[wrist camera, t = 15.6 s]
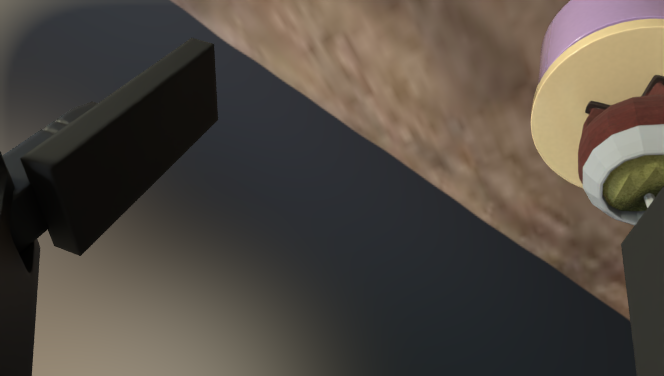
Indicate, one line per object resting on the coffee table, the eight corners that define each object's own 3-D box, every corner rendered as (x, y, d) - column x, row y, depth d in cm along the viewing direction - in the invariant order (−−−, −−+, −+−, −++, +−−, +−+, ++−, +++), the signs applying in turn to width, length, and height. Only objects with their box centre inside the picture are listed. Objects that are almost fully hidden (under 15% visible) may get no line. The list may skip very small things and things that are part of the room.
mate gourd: (605, 55, 31) (627, 205, 20) (743, 88, 30) (847, 269, 19) (557, 150, 36) (553, 312, 25) (673, 182, 35) (723, 370, 24)
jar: (573, -46, 38) (576, 4, 30) (753, -9, 36) (810, 57, 28) (516, 96, 47) (505, 166, 38) (658, 133, 44) (681, 217, 36)
